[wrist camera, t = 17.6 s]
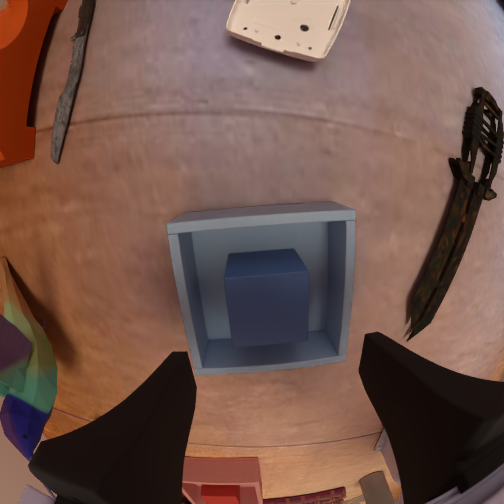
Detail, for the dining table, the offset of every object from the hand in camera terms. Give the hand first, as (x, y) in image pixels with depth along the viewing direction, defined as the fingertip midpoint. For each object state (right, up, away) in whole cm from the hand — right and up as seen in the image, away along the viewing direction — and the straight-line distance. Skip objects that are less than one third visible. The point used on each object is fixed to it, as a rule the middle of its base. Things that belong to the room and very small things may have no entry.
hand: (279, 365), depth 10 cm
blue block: (0, +2, +9) cm, 9 cm away
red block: (-5, -26, +17) cm, 31 cm away
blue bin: (0, +3, +9) cm, 9 cm away
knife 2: (+17, +8, +8) cm, 21 cm away
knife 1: (-16, +19, +4) cm, 25 cm away
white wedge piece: (+2, +20, 0) cm, 20 cm away
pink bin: (-5, -26, +17) cm, 31 cm away
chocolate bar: (+6, -41, +22) cm, 46 cm away
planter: (+20, -35, +21) cm, 45 cm away
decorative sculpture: (-21, -3, +10) cm, 24 cm away
